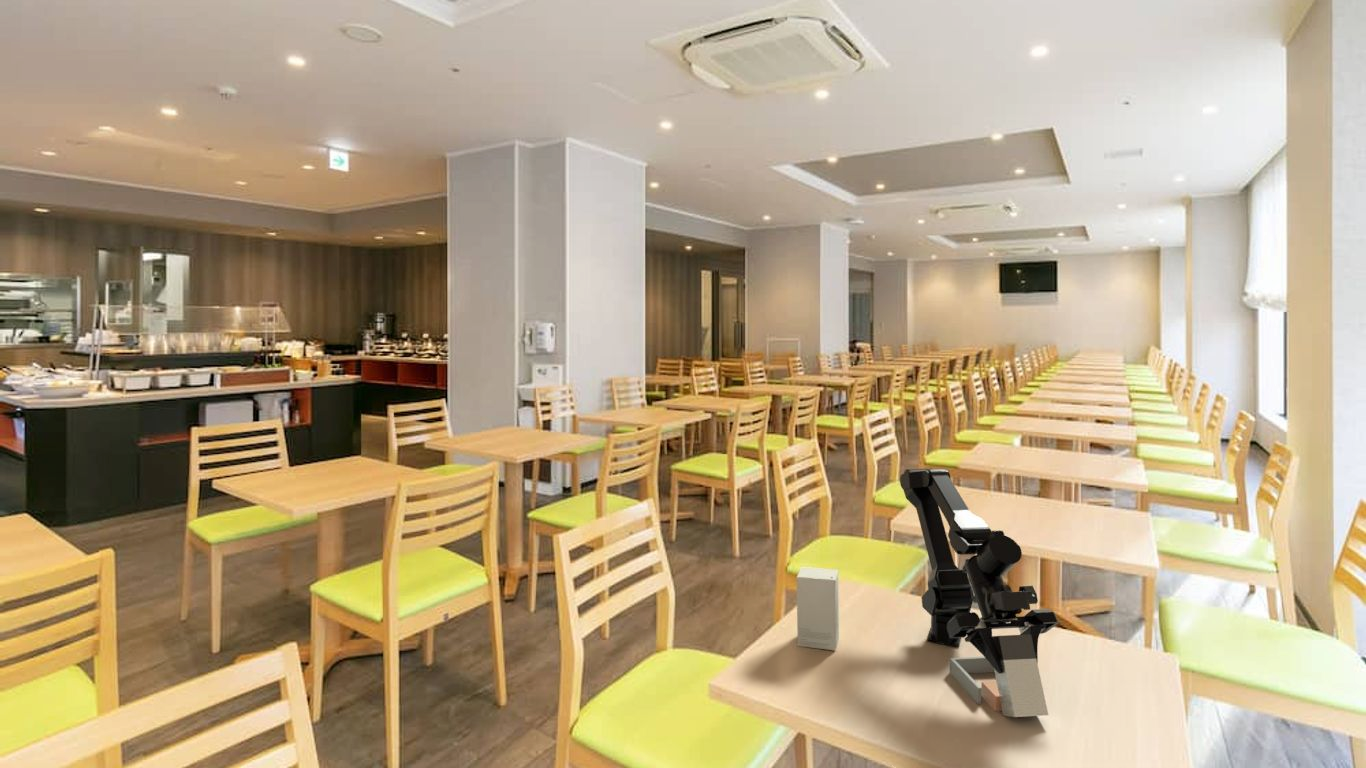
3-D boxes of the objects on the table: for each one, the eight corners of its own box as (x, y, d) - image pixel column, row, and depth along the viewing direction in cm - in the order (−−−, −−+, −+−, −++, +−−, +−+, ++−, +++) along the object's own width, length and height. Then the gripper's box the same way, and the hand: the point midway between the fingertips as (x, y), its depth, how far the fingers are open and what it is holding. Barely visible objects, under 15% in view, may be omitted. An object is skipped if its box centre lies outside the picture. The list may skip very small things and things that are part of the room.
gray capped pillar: (1003, 715, 122) (987, 636, 127) (1035, 713, 123) (1019, 635, 128) (1014, 717, 119) (998, 635, 123) (1048, 715, 119) (1031, 634, 124)
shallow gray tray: (949, 672, 137) (950, 658, 136) (1004, 669, 138) (1004, 655, 137) (977, 703, 126) (978, 688, 126) (1036, 700, 127) (1037, 684, 127)
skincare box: (839, 638, 151) (840, 569, 149) (835, 652, 145) (837, 580, 143) (800, 633, 154) (801, 564, 152) (795, 646, 148) (796, 575, 146)
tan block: (980, 696, 129) (981, 681, 128) (1017, 694, 129) (1017, 679, 129) (995, 712, 124) (996, 696, 123) (1032, 710, 124) (1033, 694, 124)
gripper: (956, 570, 125) (985, 660, 116) (1055, 567, 127) (1092, 654, 117) (935, 594, 134) (960, 679, 124) (1028, 590, 136) (1060, 674, 126)
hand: (1018, 672), depth 123 cm, fingers closed on gray capped pillar, 6 cm apart
